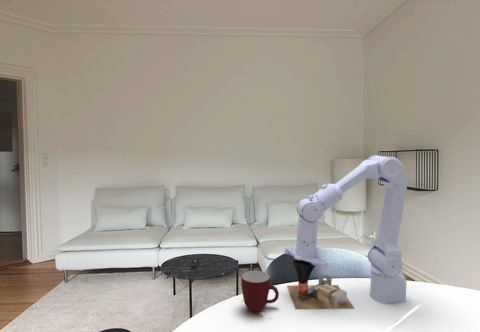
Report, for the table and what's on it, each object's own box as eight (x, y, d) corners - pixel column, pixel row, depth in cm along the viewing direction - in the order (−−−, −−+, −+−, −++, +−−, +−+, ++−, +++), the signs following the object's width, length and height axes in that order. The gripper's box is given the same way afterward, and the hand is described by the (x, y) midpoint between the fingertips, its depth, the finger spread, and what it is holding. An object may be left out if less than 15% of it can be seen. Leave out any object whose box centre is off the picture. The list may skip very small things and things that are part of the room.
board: (337, 288, 107) (337, 285, 107) (354, 311, 92) (354, 308, 92) (286, 288, 106) (286, 285, 106) (295, 312, 92) (295, 309, 92)
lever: (323, 283, 107) (323, 268, 107) (335, 288, 104) (335, 273, 103) (294, 297, 98) (294, 281, 97) (306, 303, 94) (307, 286, 94)
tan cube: (325, 294, 100) (326, 283, 100) (336, 299, 97) (337, 288, 97) (317, 298, 98) (317, 287, 97) (328, 304, 94) (328, 292, 94)
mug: (276, 302, 97) (276, 270, 96) (280, 317, 89) (280, 282, 88) (240, 303, 97) (241, 270, 96) (241, 318, 89) (241, 282, 88)
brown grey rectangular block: (340, 300, 96) (340, 289, 96) (346, 303, 95) (346, 291, 95) (330, 306, 93) (330, 294, 93) (336, 308, 92) (336, 297, 91)
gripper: (279, 235, 98) (276, 278, 100) (318, 250, 87) (314, 298, 89) (294, 231, 103) (291, 273, 104) (333, 245, 92) (329, 291, 93)
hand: (303, 284), depth 97 cm, fingers closed, pressing on lever
